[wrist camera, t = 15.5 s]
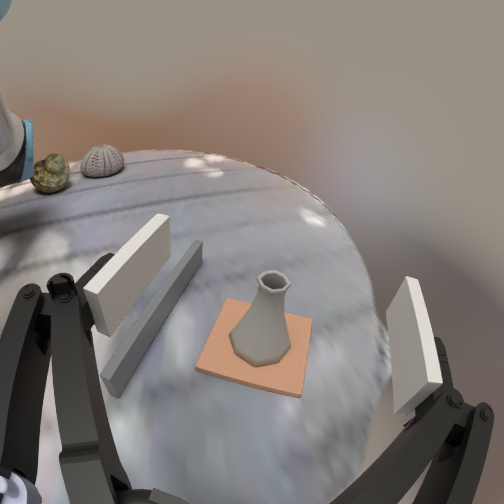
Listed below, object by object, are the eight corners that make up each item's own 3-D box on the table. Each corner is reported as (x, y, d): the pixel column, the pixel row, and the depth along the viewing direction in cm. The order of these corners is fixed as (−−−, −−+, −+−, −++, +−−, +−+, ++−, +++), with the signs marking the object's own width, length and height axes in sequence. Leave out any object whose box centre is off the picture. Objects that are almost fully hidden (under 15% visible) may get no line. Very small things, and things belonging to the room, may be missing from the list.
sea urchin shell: (105, 183, 69) (103, 154, 65) (71, 177, 71) (69, 150, 66) (133, 167, 80) (132, 141, 75) (99, 162, 82) (98, 138, 77)
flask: (252, 377, 31) (267, 317, 25) (218, 333, 35) (223, 269, 29) (300, 350, 34) (324, 289, 29) (265, 313, 39) (279, 251, 33)
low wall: (118, 398, 26) (109, 380, 24) (109, 393, 26) (99, 375, 24) (201, 262, 47) (202, 241, 45) (194, 260, 48) (195, 239, 45)
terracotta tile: (299, 397, 30) (301, 394, 29) (195, 370, 31) (195, 366, 31) (310, 323, 39) (312, 319, 39) (226, 301, 41) (226, 297, 40)
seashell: (60, 178, 70) (57, 145, 64) (77, 187, 66) (73, 150, 60) (29, 191, 62) (24, 156, 56) (43, 202, 58) (36, 163, 52)
